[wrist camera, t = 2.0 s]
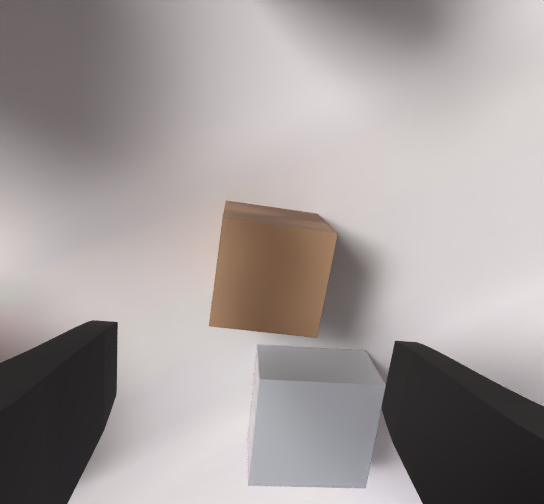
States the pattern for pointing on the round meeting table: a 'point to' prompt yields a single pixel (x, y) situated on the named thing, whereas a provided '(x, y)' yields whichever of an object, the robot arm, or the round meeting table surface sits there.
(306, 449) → the grey block
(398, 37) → the round meeting table surface
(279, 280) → the walnut cube
